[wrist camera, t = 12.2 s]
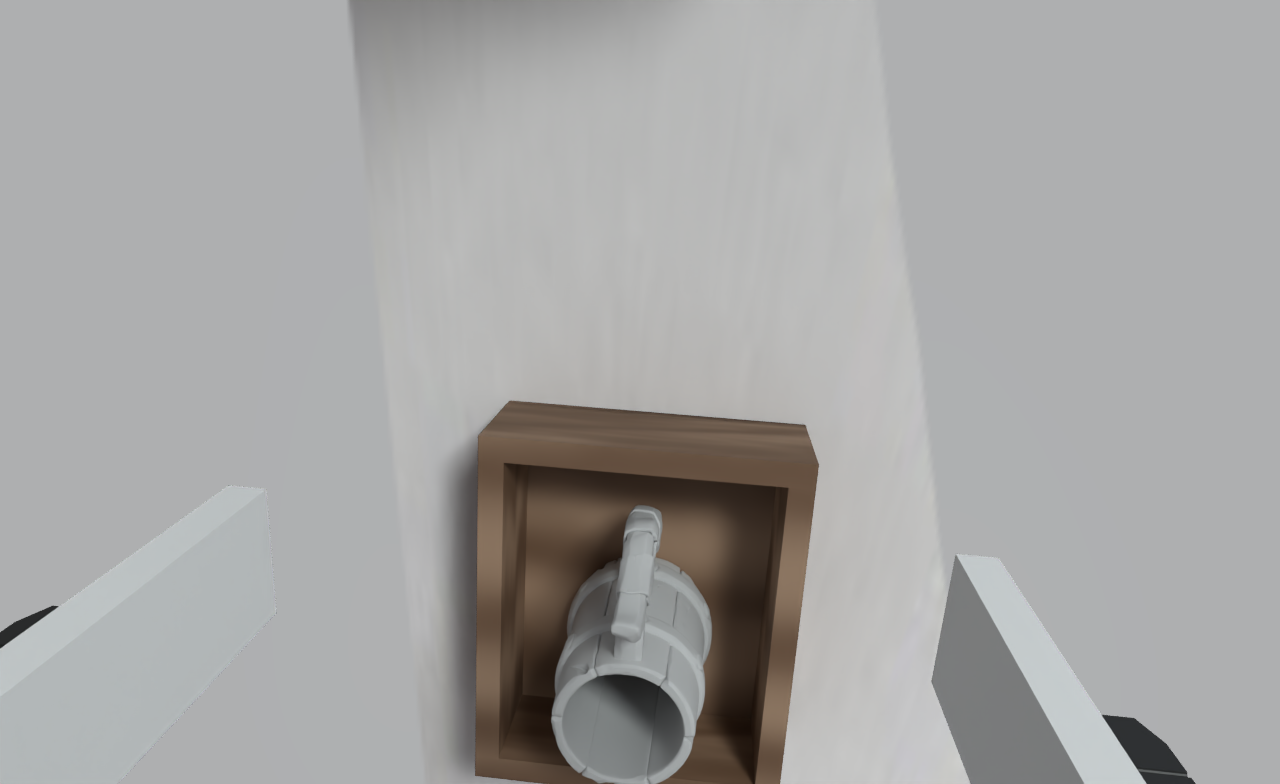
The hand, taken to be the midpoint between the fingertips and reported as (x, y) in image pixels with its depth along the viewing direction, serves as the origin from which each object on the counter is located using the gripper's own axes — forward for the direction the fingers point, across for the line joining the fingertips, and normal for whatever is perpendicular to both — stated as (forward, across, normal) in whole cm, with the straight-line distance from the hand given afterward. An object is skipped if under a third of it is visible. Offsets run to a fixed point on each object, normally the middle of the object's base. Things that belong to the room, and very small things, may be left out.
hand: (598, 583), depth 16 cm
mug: (+26, 0, -15) cm, 30 cm away
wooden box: (+27, 0, -15) cm, 31 cm away
